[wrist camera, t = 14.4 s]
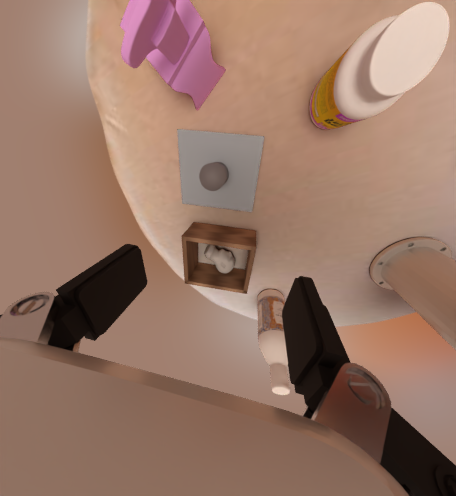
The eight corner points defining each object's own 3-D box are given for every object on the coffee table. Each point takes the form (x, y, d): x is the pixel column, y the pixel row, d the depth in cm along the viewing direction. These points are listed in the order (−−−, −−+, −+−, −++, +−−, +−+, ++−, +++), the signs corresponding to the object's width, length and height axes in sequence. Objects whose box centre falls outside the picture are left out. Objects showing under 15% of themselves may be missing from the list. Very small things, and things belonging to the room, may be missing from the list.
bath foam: (289, 295, 42) (313, 393, 25) (273, 310, 46) (285, 403, 28) (267, 284, 41) (276, 376, 24) (252, 299, 45) (251, 390, 28)
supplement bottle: (305, 133, 25) (345, 118, 14) (310, 74, 22) (367, -6, 11) (354, 125, 24) (439, 102, 13) (367, 61, 20) (497, -44, 10)
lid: (264, 136, 26) (266, 132, 21) (252, 210, 33) (251, 221, 28) (179, 129, 28) (162, 124, 22) (184, 202, 34) (171, 210, 29)
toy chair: (182, -9, 20) (51, -305, 7) (231, 62, 22) (199, -59, 10) (148, 61, 23) (21, -48, 11) (193, 116, 26) (133, 81, 13)
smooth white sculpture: (238, 258, 40) (222, 271, 41) (217, 235, 37) (201, 249, 38) (241, 266, 36) (224, 280, 37) (218, 241, 33) (200, 256, 34)
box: (256, 230, 34) (256, 247, 28) (247, 272, 40) (246, 293, 34) (194, 222, 35) (181, 236, 29) (195, 264, 41) (184, 283, 35)
